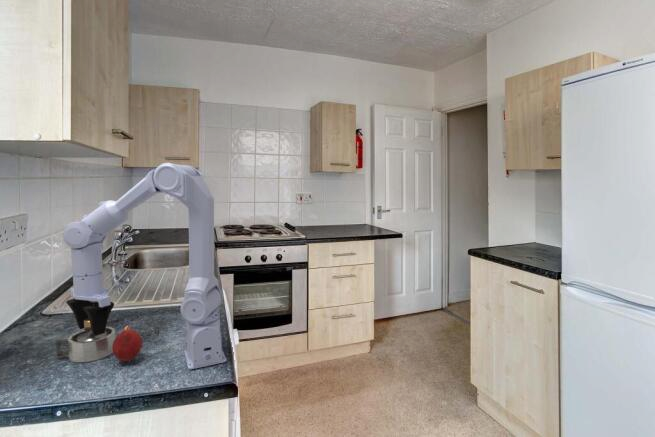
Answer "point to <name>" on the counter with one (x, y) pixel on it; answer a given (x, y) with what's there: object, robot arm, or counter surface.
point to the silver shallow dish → (87, 347)
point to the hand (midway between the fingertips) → (91, 330)
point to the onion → (127, 344)
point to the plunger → (89, 333)
